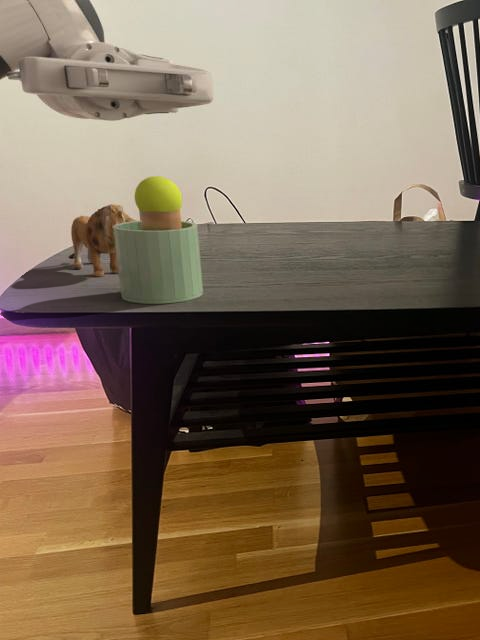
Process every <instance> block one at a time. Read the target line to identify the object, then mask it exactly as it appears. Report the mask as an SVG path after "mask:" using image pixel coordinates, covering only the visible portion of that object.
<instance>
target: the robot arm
mask: <svg viewBox="0 0 480 640" xmlns="http://www.w3.org/2000/svg"><path fill="white" fill-rule="evenodd" d="M104 31H105V30H104V28H103V25H102V22H101V19H100V18H99V15H98V13H97V11H96V9H95V7H94V4H92V2H91V0H0V81H1V80H3V79H4V78H6V77H7V79H8V80H11V81H19V82H21V88H22V92H24V93H26V94H30V95H36V96H37V97H38V99H40V100H41V102H43V103H44V104H45V105H46V106H47V107H49V109H51V110H53V111H55V112H56V113H57V114H58V113H59V114H60V115H63V116H66V117H68V118H69V117H70V118H75V119H83V120H90V119H91V120H96V121H109V122H110V121H112V122H114V121H115V122H117V121H121V120H125V119H130V118H135V117H137V116H138V117H139V116H143V115H155V114H169V113H171V114H173V113H174V114H175V113H178V112H179V109H181V108H190V107H197V106H204V105H209V104H211V103H212V102H213V101H214V85H213V78H212V77H213V76H212V74H211V72H209V71H208V70H206V69H201V68H197V67H190V66H185V65H179V64H175V63H174V61H173V60H171V59H165V58H163V57H156V56H151V55H145V54H139V53H136V52H134V51H131V50H128V49H126V48H122V47H118V46H117V45H114V44H111V43H107V42H106V41H105V32H104ZM17 70H19V71H17Z"/></svg>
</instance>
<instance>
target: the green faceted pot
mask: <svg viewBox="0 0 480 640" xmlns="http://www.w3.org/2000/svg"><path fill="white" fill-rule="evenodd" d="M181 223H182V229H175V230H158V231H143V230H141V222H140V220H136V221H133V222H125V223H119V224H116V225H114V226H112V229H113V237H114V244H115V252H116V260H117V268H118V273H117V275H118V276H117V277H118V282H119V291H120V297H121V299H122V300H123V301H125V302H129V303H134V304H142V305H143V304H144V305H162V304H175V303H182V302H188V301H192V300H195V299H197V298H198V299H199V298H200V297H201V296H202V297H203V295H204V281H203V271H202V270H203V269H202V259H201V247H200V237H199V236H200V235H199V226H198V224H197V223H195V222H191V221H184V220H181Z"/></svg>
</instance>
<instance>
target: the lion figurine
mask: <svg viewBox="0 0 480 640" xmlns="http://www.w3.org/2000/svg"><path fill="white" fill-rule="evenodd" d="M133 221H137V220H136V219H134V218H131V217H130V215H128V214H126V212H125V211H124V207H123V205H119V204H113V203H112V204H108V205H106V206H103V207H101V208H98V209H97V210H96V211H95V212H93V213H92V214H91V215H90V216H87V215H80V216H78V217H75V218H74V220H72V224H71V233H70V234H71V241H72V246H73V251H74V252H73V253H71V254H70V255H69V256H68V259H70V260H74V263H73V265H72V268H73V269H75V270H76V269H83V267H84V265H83V264H82V259H81V258H82V253H81V251H82V249H83V246H84V247H85V248H87V261H88V262H89V263H91V264H92V268H93V273H92V275H93V276H94V277H97V278H98V277H99V278H100V277H104V276H105V271H104V268H103V266H102V263H101V254H104V255H105V254H106V255H107V254H109V270H110V272H111V273H113V274H118V268H117V260H116V252H115V244H114V237H113V229H112V226H114V225H116V224H119V223H125V222H133Z"/></svg>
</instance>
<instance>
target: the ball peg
mask: <svg viewBox="0 0 480 640" xmlns="http://www.w3.org/2000/svg"><path fill="white" fill-rule="evenodd" d="M134 202H135V205H136V207H137V209H138V212H139V213H138V214H139V221H140V222H141V230H143V231H158V230H175V229H182V223H181V221H182V213H181V208H182V205H183V196H182V193H181V191H180V189H179V187H178V186H177V184H176V183H175V182H173V181H172V180H170V179H169V178H166V177H165V176H164V177H163V176H159V175H153V176H149V177H146V178H144V179H142V180H141V181H140V182H139V183H138V184H137V186H136V188H135V191H134Z"/></svg>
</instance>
